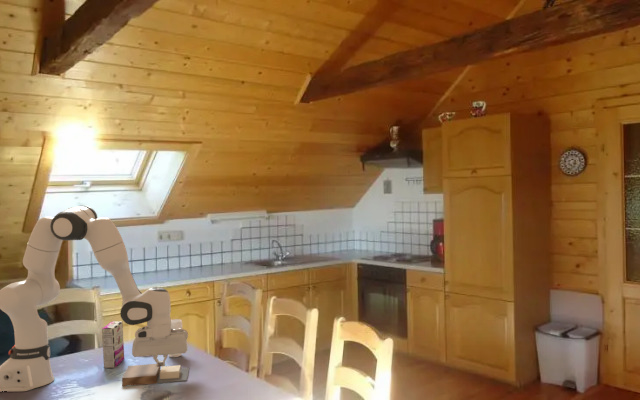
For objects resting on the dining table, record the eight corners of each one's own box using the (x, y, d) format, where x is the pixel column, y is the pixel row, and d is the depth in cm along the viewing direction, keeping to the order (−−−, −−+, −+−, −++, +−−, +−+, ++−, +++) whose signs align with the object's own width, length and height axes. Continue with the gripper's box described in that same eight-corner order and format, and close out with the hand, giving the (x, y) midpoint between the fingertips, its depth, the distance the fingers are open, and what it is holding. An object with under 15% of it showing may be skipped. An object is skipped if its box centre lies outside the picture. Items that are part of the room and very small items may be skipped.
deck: (122, 386, 207) (121, 378, 207) (128, 373, 221) (128, 365, 221) (156, 383, 209) (156, 375, 209) (160, 371, 223) (160, 363, 223)
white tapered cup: (166, 354, 244) (165, 319, 244) (182, 352, 246) (181, 318, 246) (167, 359, 238) (166, 323, 237) (183, 357, 240) (182, 322, 239)
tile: (159, 379, 212) (159, 372, 212) (162, 372, 219) (161, 366, 219) (179, 377, 213) (178, 371, 213) (180, 371, 220) (180, 365, 220)
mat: (156, 383, 209) (156, 382, 209) (160, 371, 223) (160, 370, 223) (186, 381, 211) (186, 379, 211) (189, 368, 225) (189, 367, 225)
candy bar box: (112, 359, 239) (111, 321, 238) (124, 359, 239) (123, 320, 238) (102, 368, 228) (101, 328, 227) (115, 368, 228) (113, 327, 227)
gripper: (188, 326, 220) (189, 361, 221) (133, 329, 217) (134, 365, 217) (187, 330, 214) (188, 366, 214) (130, 334, 211) (132, 371, 211)
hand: (160, 366), depth 216 cm, fingers closed
